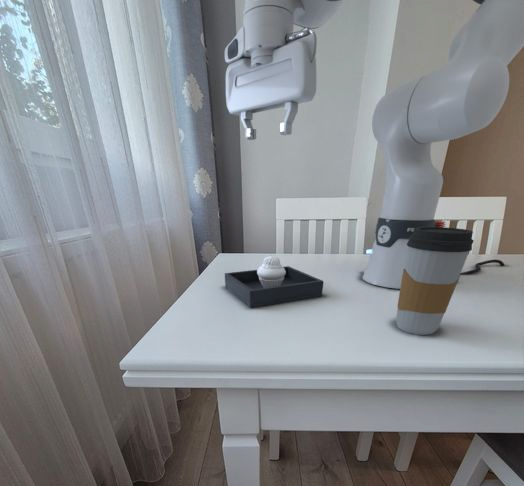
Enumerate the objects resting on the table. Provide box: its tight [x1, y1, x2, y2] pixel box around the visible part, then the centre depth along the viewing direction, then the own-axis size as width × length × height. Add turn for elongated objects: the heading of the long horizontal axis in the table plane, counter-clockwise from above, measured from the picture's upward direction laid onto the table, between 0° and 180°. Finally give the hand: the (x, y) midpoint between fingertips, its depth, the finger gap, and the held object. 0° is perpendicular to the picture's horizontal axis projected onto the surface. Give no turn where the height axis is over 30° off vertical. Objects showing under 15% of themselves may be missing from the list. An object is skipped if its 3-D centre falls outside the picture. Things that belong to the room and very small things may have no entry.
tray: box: [224, 265, 324, 308], centre depth 64 cm, size 17×15×3 cm
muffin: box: [256, 255, 286, 288], centre depth 63 cm, size 6×6×7 cm
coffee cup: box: [395, 226, 475, 336], centre depth 45 cm, size 8×8×15 cm
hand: (267, 137), depth 59 cm, fingers open, 8 cm apart
